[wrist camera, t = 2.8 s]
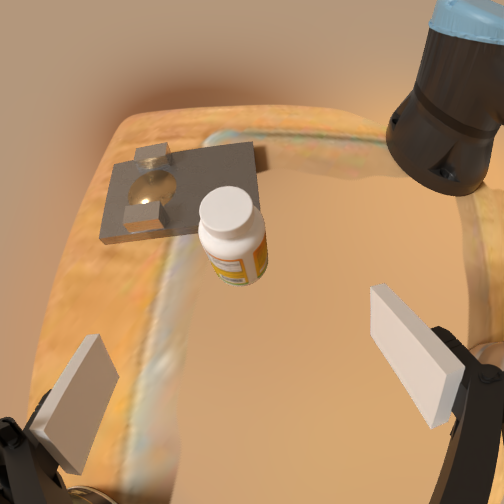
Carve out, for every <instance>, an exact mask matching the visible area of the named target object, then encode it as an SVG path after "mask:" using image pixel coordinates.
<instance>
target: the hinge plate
mask: <svg viewBox="0 0 504 504" xmlns="http://www.w3.org/2000/svg"><path fill="white" fill-rule="evenodd" d="M224 186H234V187H238V188H241V189H243V190H244V191H246V192H247V193H248V194H249V196H250V197H251V199H252V202H253V205H254V206H255V207H256V208H257V209H258V210H259V211H260V203H259V194H258V184H257V175H256V166H255V157H254V149H253V142H244V143H235V144H227V145H220V146H212V147H205V148H199V149H192V150H186V151H180V152H174V153H171V151H170V148H169V146H168V143H167V142H166V143H161V144H156V145H151V146H146V147H141V148H136V152H135V157H134V160H132V161H127V162H123V163H118V164H114V167H113V171H112V175H111V180H110V184H109V189H108V193H107V198H106V203H105V208H104V213H103V218H102V224H101V229H100V235H99V239H100V240H101V241H102V242H103V243H104V244H105V245H107V244H114V243H122V242H130V241H137V240H145V239H153V238H161V237H169V236H177V235H186V234H194V233H198V228H199V222H200V220H201V218H200V214H199V209H200V205H201V202H202V200H203V199H204V197H205V196H206V195H207V194H208V193H210V192H211V191H213V190H215V189H217V188H220V187H224ZM260 213H261V212H260Z"/></svg>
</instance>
